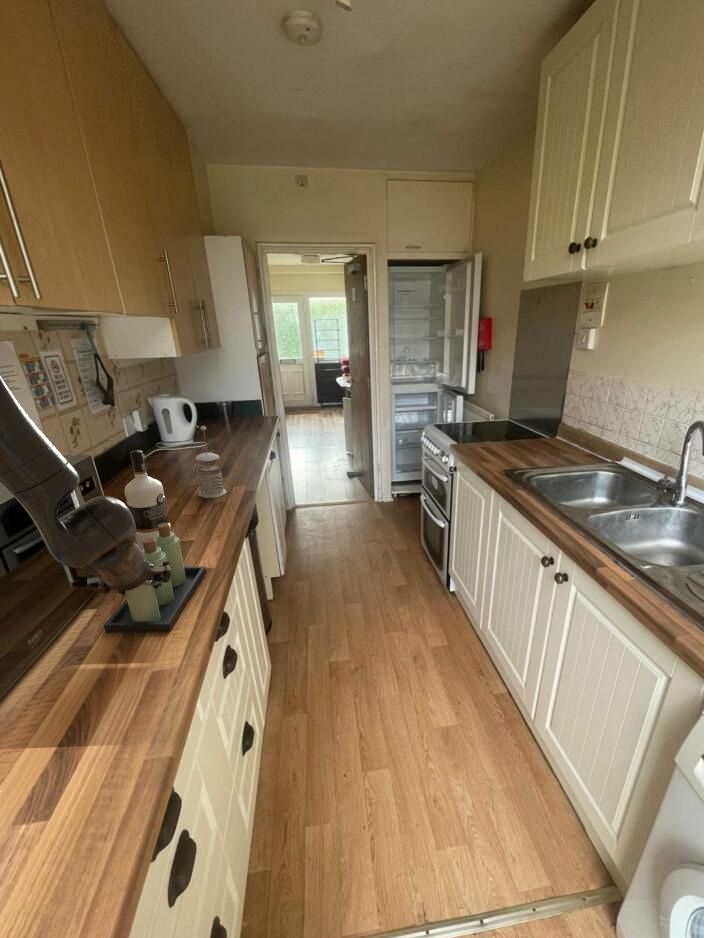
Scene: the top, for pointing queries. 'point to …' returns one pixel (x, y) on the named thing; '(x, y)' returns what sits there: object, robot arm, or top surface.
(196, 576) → the tray
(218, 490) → the french press
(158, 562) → the bottle mid
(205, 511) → the top surface
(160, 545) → the bottle back
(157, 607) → the bottle loose
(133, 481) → the vodka
